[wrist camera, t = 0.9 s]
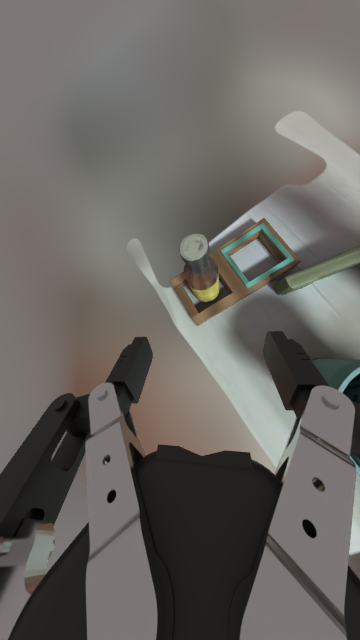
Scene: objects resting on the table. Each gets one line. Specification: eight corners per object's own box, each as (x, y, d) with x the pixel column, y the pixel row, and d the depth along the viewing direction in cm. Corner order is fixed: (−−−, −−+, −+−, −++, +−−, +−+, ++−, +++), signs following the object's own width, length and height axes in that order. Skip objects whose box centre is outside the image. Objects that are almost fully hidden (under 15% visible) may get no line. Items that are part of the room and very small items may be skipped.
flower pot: (264, 369, 35) (302, 395, 20) (336, 332, 33) (444, 327, 17) (313, 444, 32) (406, 546, 16) (397, 408, 29) (601, 488, 14)
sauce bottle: (224, 290, 39) (232, 244, 20) (206, 308, 40) (197, 280, 20) (205, 274, 41) (195, 217, 21) (188, 291, 41) (164, 251, 22)
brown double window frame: (260, 226, 39) (264, 216, 36) (294, 267, 36) (302, 260, 33) (172, 284, 42) (169, 280, 39) (197, 325, 40) (195, 324, 36)
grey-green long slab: (271, 284, 37) (394, 236, 33) (277, 297, 37) (403, 250, 32) (283, 274, 31) (439, 213, 26) (291, 289, 30) (450, 229, 26)
